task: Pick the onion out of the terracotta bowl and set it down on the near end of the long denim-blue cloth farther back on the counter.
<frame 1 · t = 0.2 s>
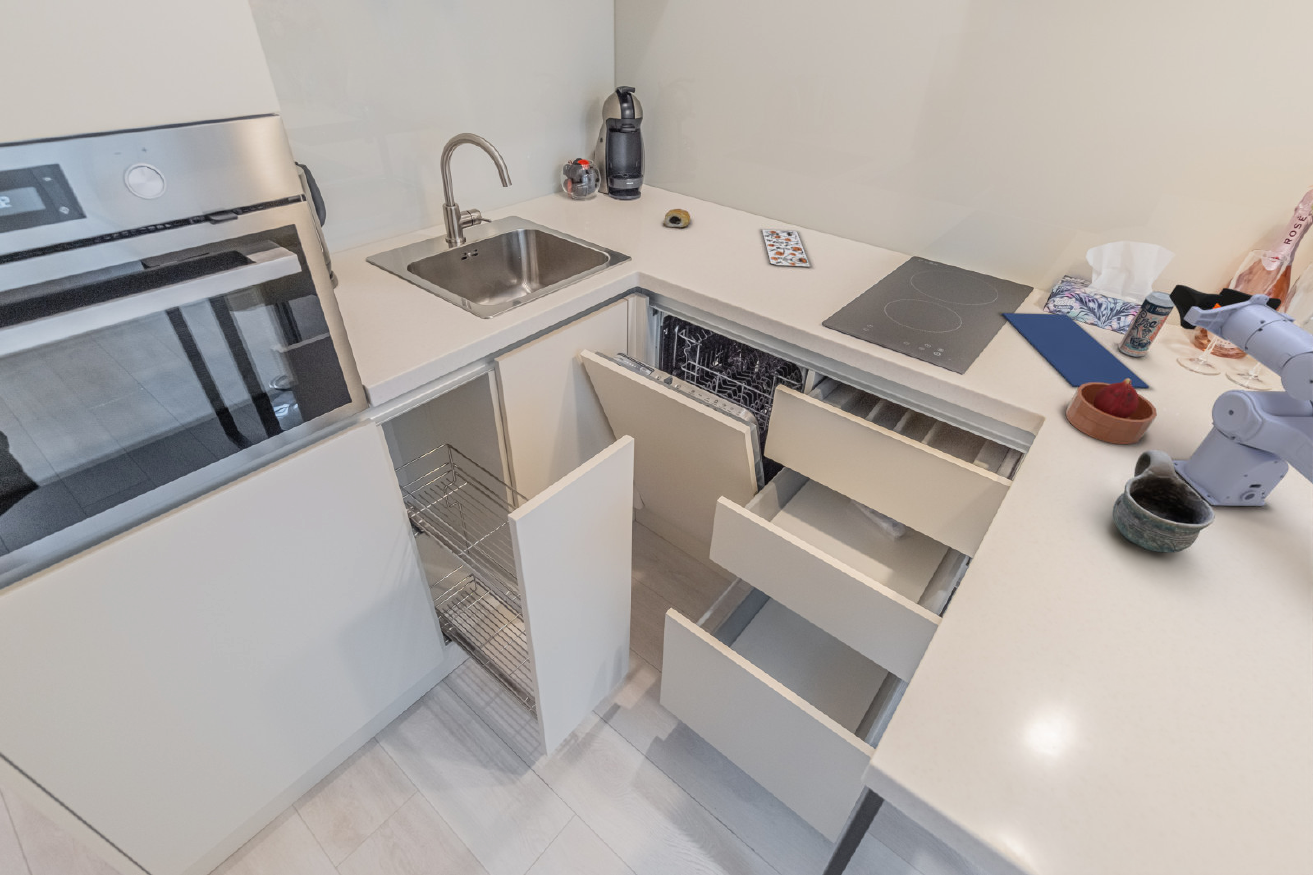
hand: (1198, 292, 95), 21 cm above the countertop, tool horizontal, fingers open, 7 cm apart
onion: (1104, 421, 103), resting on bowl
paper towel: (784, 248, 160), on the countertop
pastry: (677, 223, 172), on the countertop
mug: (1133, 529, 84), on the countertop
cloth: (1068, 348, 123), on the countertop
beer can: (1130, 352, 123), on the countertop
bowl: (1103, 423, 103), on the countertop
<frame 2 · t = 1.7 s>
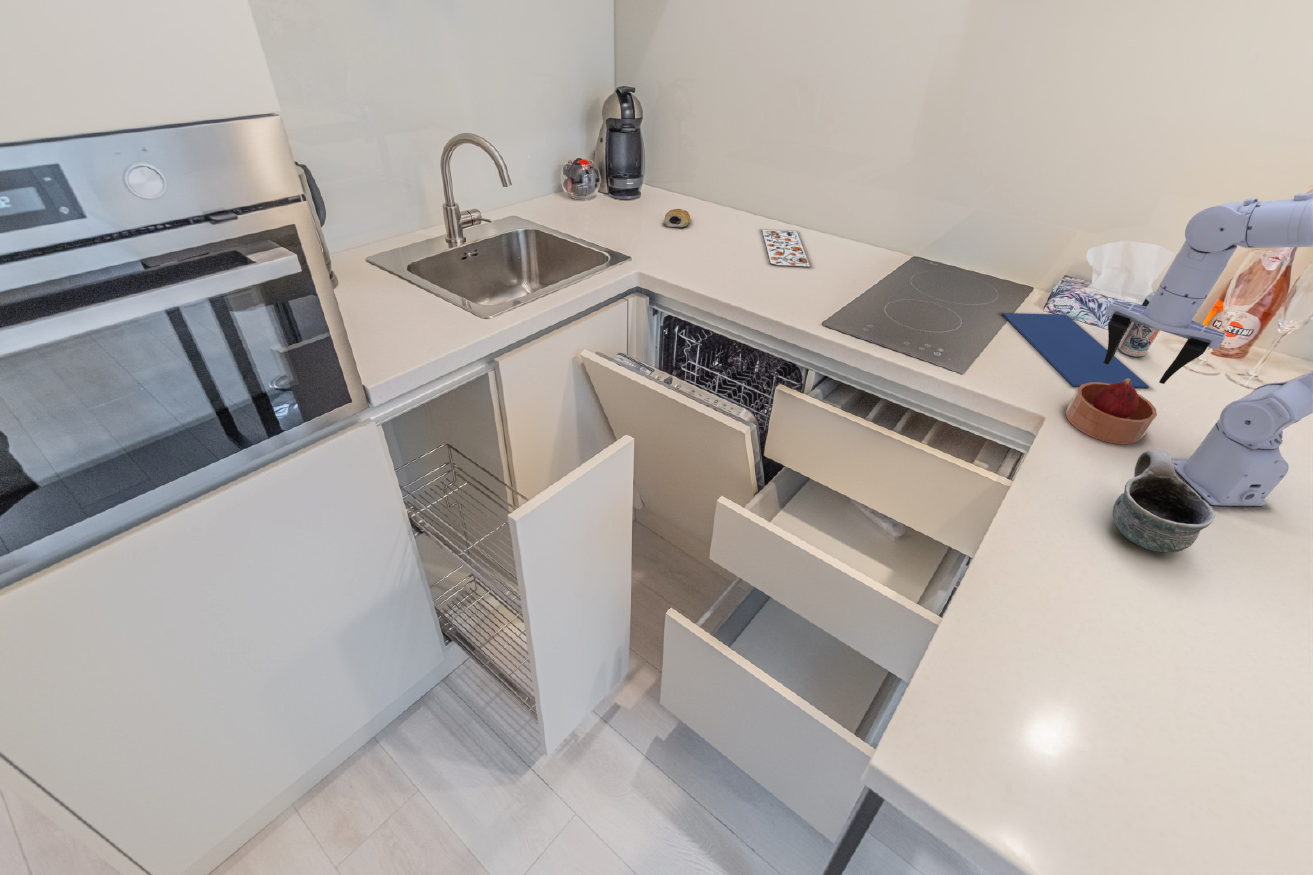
hand: (1134, 371, 97), 10 cm above the countertop, tool pointing down, fingers open, 7 cm apart
nothing on the countertop moved.
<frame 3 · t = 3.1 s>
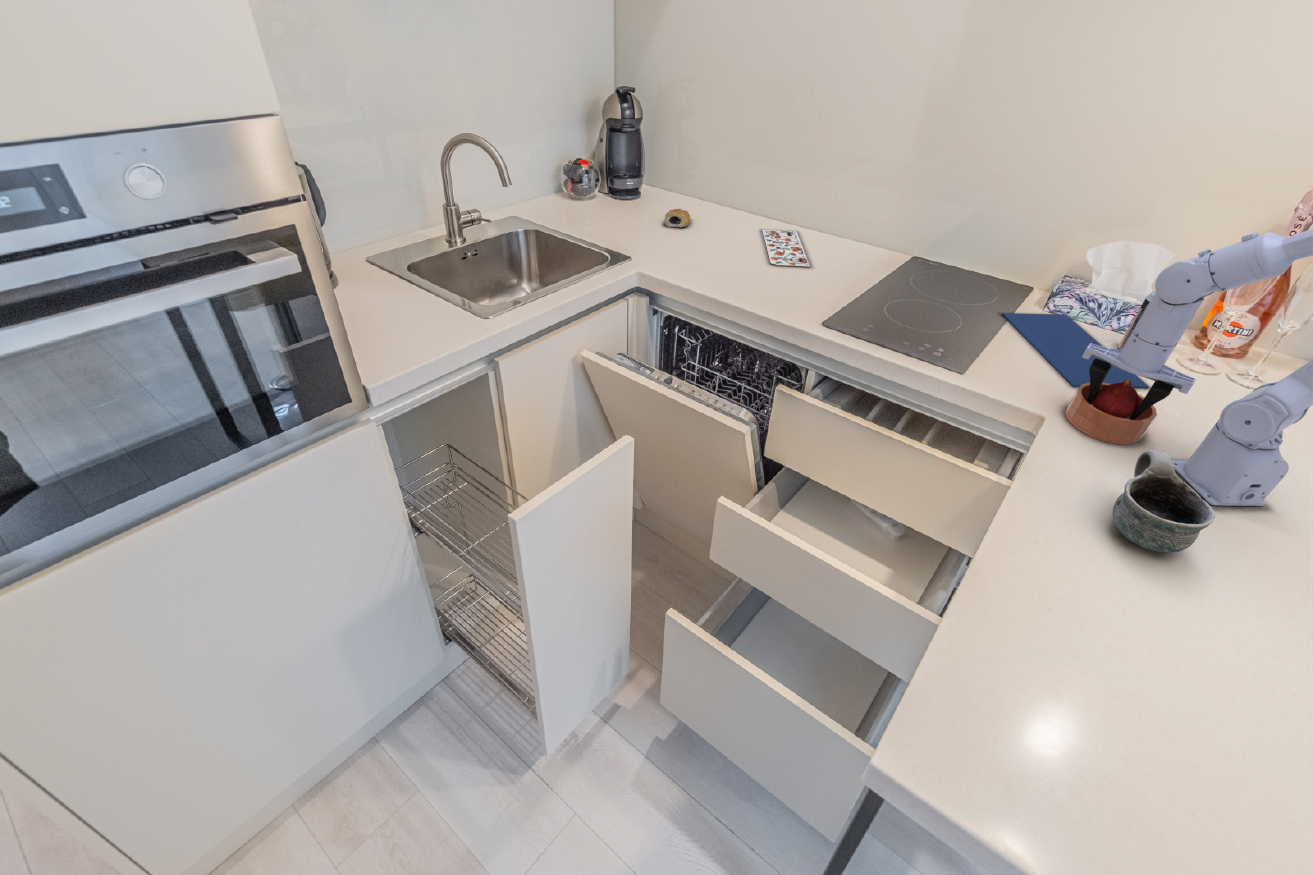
hand: (1110, 410, 102), 3 cm above the countertop, tool pointing down, fingers closed on onion, 6 cm apart
onion: (1104, 421, 103), resting on bowl, touching gripper
everything else where it was.
when the fingers open (2 cm above the countertop, at t = 8.5 s): onion stays where it is, resting on cloth.
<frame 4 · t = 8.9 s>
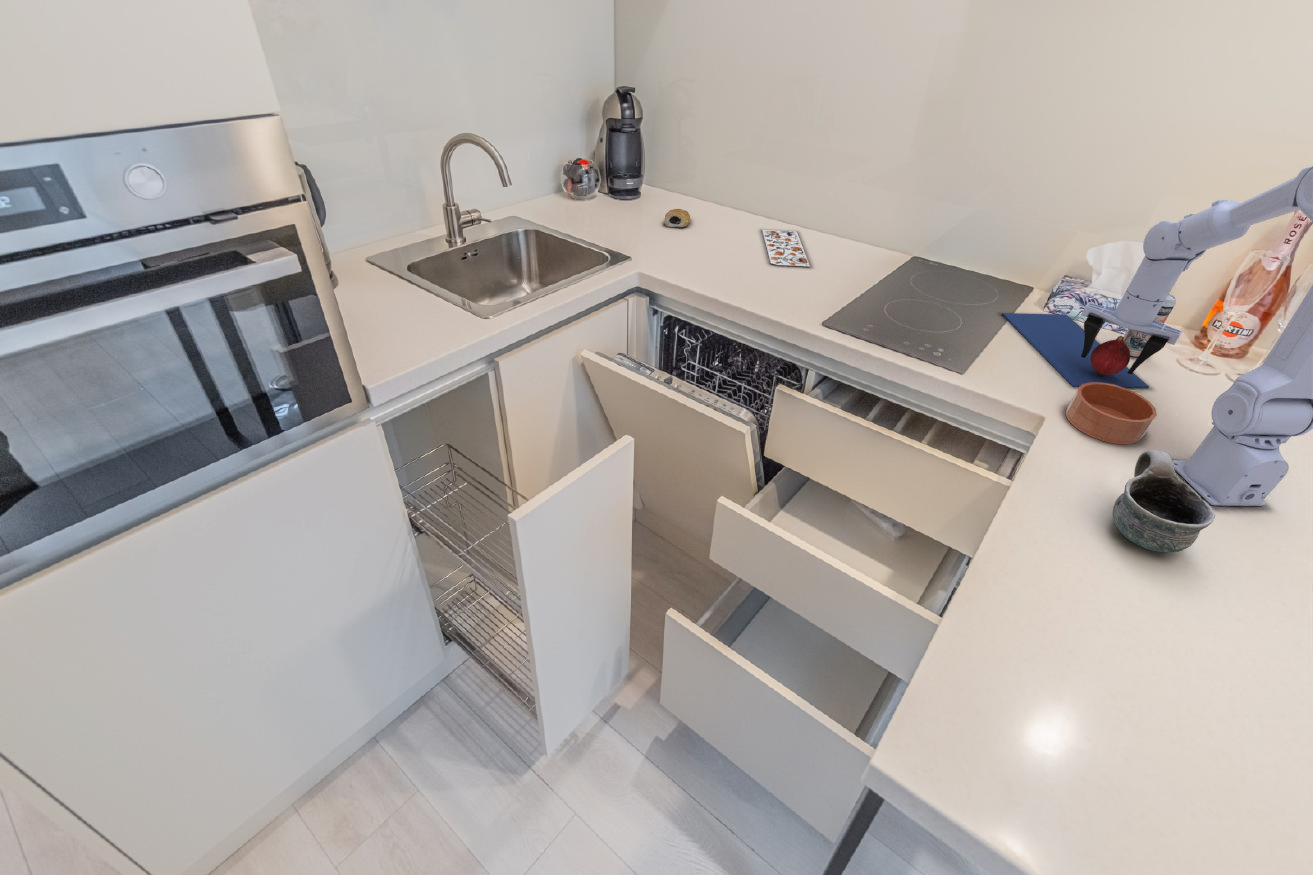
hand: (1106, 363, 113), 3 cm above the countertop, tool pointing down, fingers open, 7 cm apart
onion: (1099, 376, 115), resting on cloth
everything else where it was.
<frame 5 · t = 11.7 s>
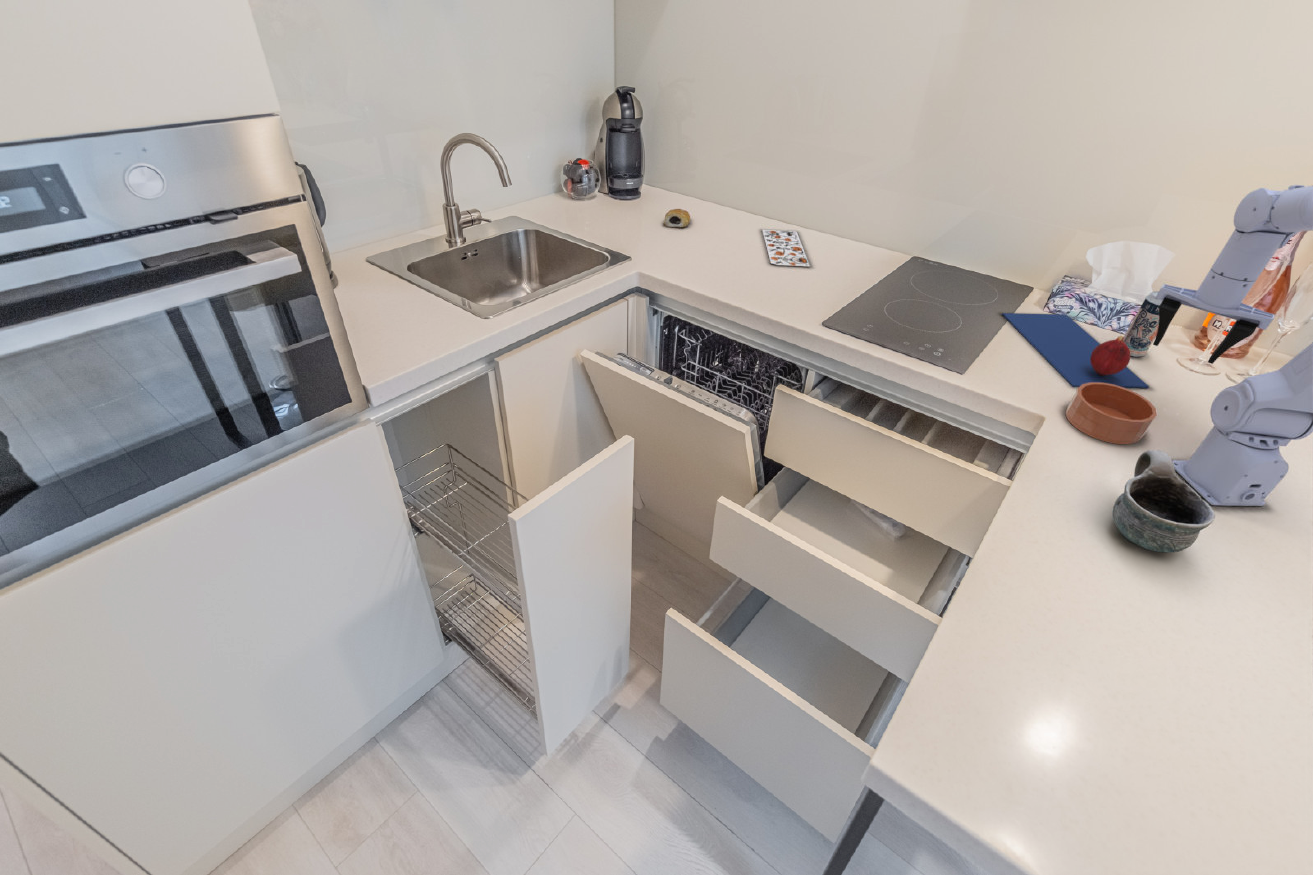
hand: (1183, 352, 102), 10 cm above the countertop, tool pointing down, fingers open, 7 cm apart
nothing on the countertop moved.
at the end: onion inside the target area on the cloth (10.5 cm from its centre), point 0.2 cm above the cloth's base; onion touching cloth; the gripper is holding nothing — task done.
